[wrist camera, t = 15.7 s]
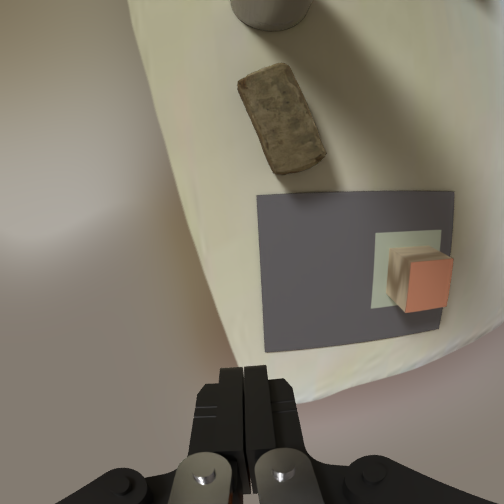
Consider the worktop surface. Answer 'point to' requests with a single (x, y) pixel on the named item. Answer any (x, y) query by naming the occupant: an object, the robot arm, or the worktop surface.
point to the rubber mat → (343, 263)
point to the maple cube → (418, 278)
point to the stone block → (281, 119)
